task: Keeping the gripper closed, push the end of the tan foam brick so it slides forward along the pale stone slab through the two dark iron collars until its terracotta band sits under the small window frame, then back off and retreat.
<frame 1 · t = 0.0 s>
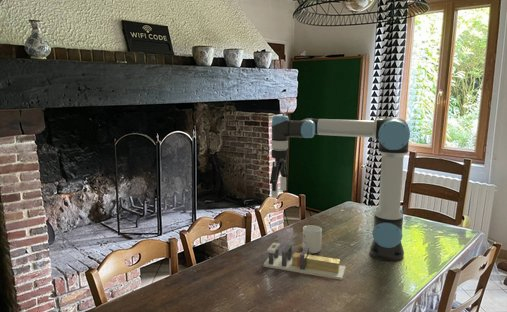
hand: (279, 193, 184), 28 cm above the table, fingers open, 13 cm apart
slab: (304, 267, 171), on the table
collars: (288, 264, 173), resting on slab
mug: (309, 249, 190), on the table
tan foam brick: (315, 262, 168), point 3 cm above the table, slide at 0.0 cm
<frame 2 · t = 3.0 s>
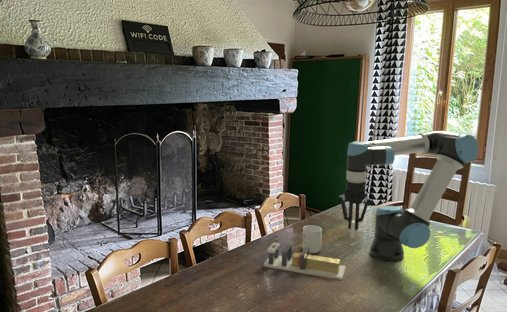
hand: (352, 236, 160), 17 cm above the table, fingers closed
nothing on the table moved.
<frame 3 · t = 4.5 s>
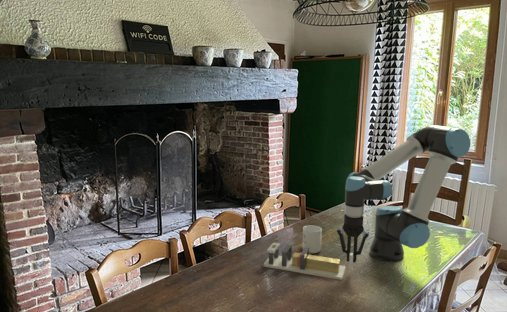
hand: (351, 268, 163), 3 cm above the table, fingers closed
nothing on the table moved.
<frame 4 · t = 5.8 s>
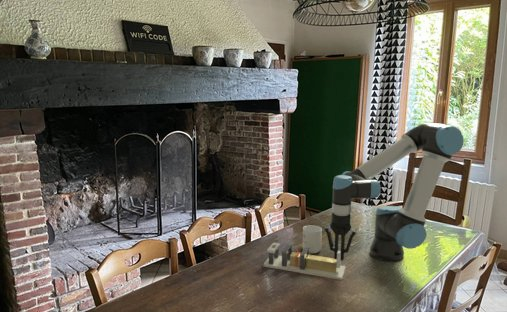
hand: (338, 266, 165), 3 cm above the table, fingers closed
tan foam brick: (313, 261, 169), point 3 cm above the table, slide at 1.0 cm, touching gripper
everything else where it was.
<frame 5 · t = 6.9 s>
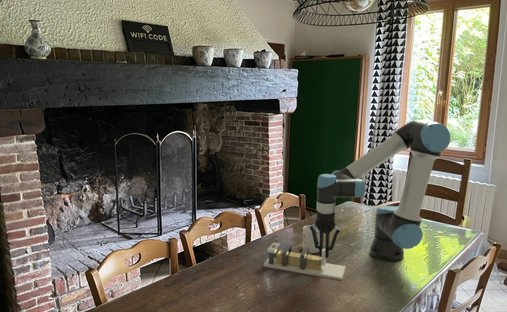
hand: (323, 264, 167), 3 cm above the table, fingers closed
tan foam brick: (299, 259, 171), point 3 cm above the table, slide at 7.4 cm, touching gripper
everything else where it was.
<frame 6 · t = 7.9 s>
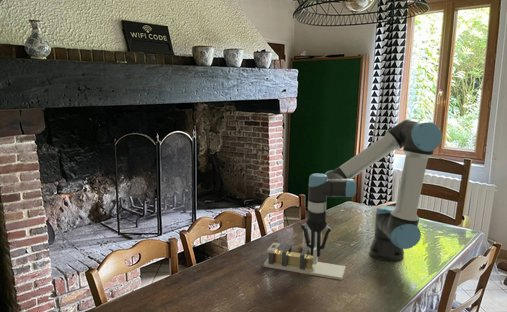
hand: (315, 262, 168), 3 cm above the table, fingers closed
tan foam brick: (291, 258, 172), point 3 cm above the table, slide at 11.0 cm, touching gripper
everything else where it was.
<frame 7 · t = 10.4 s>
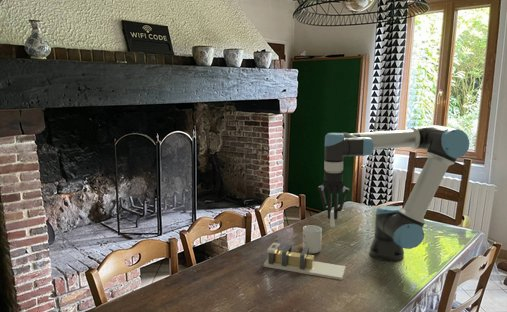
hand: (332, 226, 163), 20 cm above the table, fingers closed
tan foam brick: (290, 257, 172), point 3 cm above the table, slide at 11.2 cm
everything else where it was.
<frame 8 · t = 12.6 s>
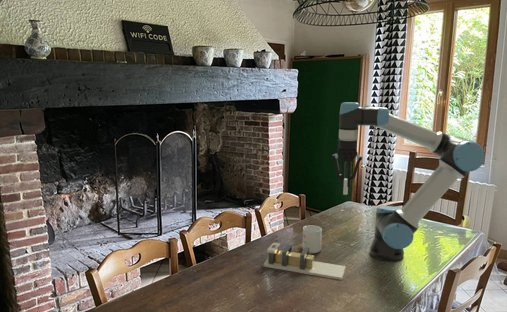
hand: (345, 193, 168), 32 cm above the table, fingers closed
nothing on the table moved.
at the end: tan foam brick slide at 11.2 cm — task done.
